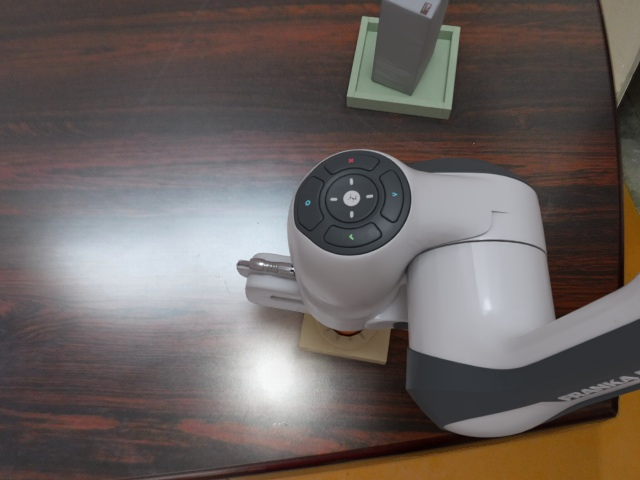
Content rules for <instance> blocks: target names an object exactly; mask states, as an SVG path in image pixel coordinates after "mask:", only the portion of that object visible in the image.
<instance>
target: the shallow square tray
mask: <svg viewBox="0 0 640 480" xmlns="http://www.w3.org/2000/svg"><path fill="white" fill-rule="evenodd" d="M378 23H379V17H374V16H366V15H362V16H361V21H360V26H359V31H358V36H357V40H356V41H357V43H356V47H355V51H354V57H353V61H352V67H351V71H350V76H349V83H348V88H347V94H346V108H353V109H354V108H355V109H362V110H369V111H375V112H376V111H377V112H386V113H391V114H392V113H393V114H400V115H401V114H402V115H409V116H417V117H424V118H431V119H438V120H449V118H450V115H451V112H452V108H453V98H454V90H455V81H456V71H457V65H458V64H457V62H458V53H459V45H460V43H459V42H460V35H461V26H457V25H447V24H442V26H441V29H440V33H439V36H438V39H437V43H436V46H435V49H434V53H433V55H432V57H431V59H430V61H429V63H428V65H427V67H426V69H425V71H424V73H423V75H422V77H421V79H420V81H419V82H418V84H417V86H416V88H415V90H414V92H413V94H412V95H411V96H409V95H407V94H404V93H402V92H399V91H397V90H395V89H392V88H390V87H387V86H385V85H383V84H380V83H378V82H375V81H373V80H372V79H371V77H372V69H373V61H374V54H375V46H376V38H377V31H378Z"/></svg>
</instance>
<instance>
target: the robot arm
mask: <svg viewBox="0 0 640 480" xmlns="http://www.w3.org/2000/svg"><path fill="white" fill-rule="evenodd" d="M286 220H287V221H286V235H287V236H286V238H287V247H288V253H289V255H285V254H284V255H283V254H277V253H273V252H272V253H271V252H258V253H256V254H254V255H253V256H252V257H250V258H249V260H247V259H246V260H245V259H239V260H238V261H237V263H236V264H235V265H236V271H237V272H238V274H239V275H240V276H242V277H244V278H246V281H245V286H244V292H245V293H244V294H245V297H246V299H247V301H248V302H250V303H251V304H254V305H256V306H257V305H258V306H262V307H269V308H275V309H280V310H285V311H293V312H298V313H304V314H305V313H309V314H311V315H312V316H313V317H314V318H315V319H316V320H317V321H319V322H320V323H322V324H323V325H325V326H327V327H329V328H332V329H335V330H339V331H358V330H363V329H368V330H375V329H388V328H391V329H395V330H402V331H408V332H407V333H408V346H407V347H406V372H405V390H406V392H407V393H408V394H409V396H410V397H411V399H412V400H413V401H414V402H415V404H416V405H417V406H418V407H419V409H420V410H421V411H422V412H423V414H425V416H427V418H428V419H430V421H431V422H432V423H433V424H435V425H436V426H437V427H438V428H439V429H441V430H442V431H447V432H450V433H455V434H458V435H462V436H466V437H475V438H498V437H499V438H500V437H507V436H512V435H513V436H514V435H516V434H520V433H523V432H526V431H529V430H531V429H533V428H535V427H538V426H539V425H543V424H547V423H549V422H552V421H554V420H557V419H560V418H561V417H563V416H566V415H568V414H569V413H572V412H574V411H576V410H580V409H581V408H584V407H587V406H590V405H593V404H597V403H599V402H604V401H607V400H609V399H613V398H617V397H620V396H623V395H626V394H629V393H633V392H637V391H640V271H638V273H637V274H636V276H634V278H632V279H631V280H630V281H628V282H627V283H626V284H624V285H623V286H621V287H620V288H618V289H616V290H615V291H612V292H610V293H608V294H606V295H604V296H602V297H600V298H598V299H596V300H594V301H592V302H590V303H588V304H586V305H583V306H582V307H580V308H578V309H575V310H573V311H571V312H569V313H567V314H565V315H563V316H560V317H559V318H556V313H555V312H556V311H555V305H554V298H553V292H552V291H553V290H552V286H551V285H552V284H551V278H550V277H551V276H550V271H549V264H548V251H547V243H546V236H545V230H544V224H543V217H542V212H541V207H540V203H539V194H538V191H537V190H536V189H535V188H534V187H533V186H532V185H531V184H530V183H529V182H528V181H527V180H525V179H524V178H523V177H522V176H520V175H518V174H516V173H515V172H513V171H512V170H509V169H507V168H505V167H502V166H500V165H498V164H496V163H493V162H490V161H487V160H484V159H480V158H474V157H473V158H472V157H439V158H431V159H426V160H421V161H416V162H413V163H410V164H408V165H407V164H405V163H404V162H402V161H401V160H400V159H397V158H396V157H394V156H392V155H390V154H388V153H385V152H382V151H379V150H374V149H367V148H366V149H365V148H364V149H363V148H362V149H361V148H357V149H347V150H343V151H339V152H336V153H334V154H331V155H330V156H328V157H325V158H324V159H322V160H321V161H320V162H318V163H317V164H315V166H313V167H312V168H311V169H310V170H309V171H308V172H307V173H306V174H305V175H304V177H303V178H302V179H301V181H300V182H299V184H298V185H297V187H296V189H295V191H294V193H293V195H292V198H291V201H290V204H289V207H288V212H287V218H286Z"/></svg>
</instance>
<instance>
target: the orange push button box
mask: <svg viewBox="0 0 640 480" xmlns="http://www.w3.org/2000/svg"><path fill="white" fill-rule="evenodd" d="M301 324H302V325H301V331H300V335H299V341H298V345H297V346H298V349H299V350H300V351H305V352H309V353H310V352H311V353H315V354H321V355H322V354H323V355H327V356H333V357H339V358H344V359H349V360H355V361H361V362H367V363H372V364H379V365H385V366H386V363H387V360H388V354H389V353H388V352H389V346H390V339H391V338H390V337H391V330H392V328H388V329H375V330H368V329H363V330H361V331H360V332H358V333H357V334H355V335H352V336H344V335H341V334H339V333H337V332H336V331H335V330H334V329H332V328H329V327H327V326H325V325H323V324H322V323H320V322H319V321H317V320H316V319H315V318H314V317H313V316H312V315H311V314H309V313H304V315H303V320H302V323H301Z"/></svg>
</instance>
